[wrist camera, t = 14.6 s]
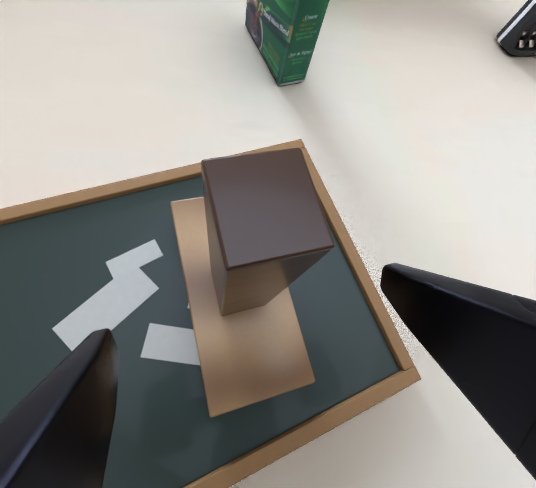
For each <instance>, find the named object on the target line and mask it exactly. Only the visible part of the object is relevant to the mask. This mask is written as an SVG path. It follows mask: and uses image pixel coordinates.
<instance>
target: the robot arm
mask: <svg viewBox="0 0 536 488" xmlns="http://www.w3.org/2000/svg"><path fill="white" fill-rule="evenodd" d="M380 286H381V290H382V292H383V293H384V295H385V296H386V297H387V299H388V300H389V302H390V303H391V305H392V306H393V308H394V309H395V311H396V312H397V313H398V315H399V316H400V318H401V319H402V321H403V322H404V323H405V325H406V326H407V327H408V329H409V330H410V331H411V332H412V333H413V335H414V336H415V337H416V338H417V339H418V341H419V342H420V343H421V344H422V345H423V346H424V348H425V349H426V350H427V351H428V352H429V354H430V355H431V356H432V357H433V358H434V360H435V361H436V362H437V363H438V364H439V366H440V367H441V368H442V369H443V370H444V371H445V373H446V374H447V375H448V376H449V377H450V379H451V380H452V381H453V382H454V383H455V385H456V386H457V387H458V388H459V389H460V390H461V392H462V393H463V394H464V395H465V396H466V398H467V399H468V400H469V401H470V402H471V404H472V405H473V406H474V407H475V408H476V410H477V411H478V412H479V413H480V414H481V415H482V417H483V418H484V419H485V420H486V421H487V423H488V424H489V425H490V426H491V427H492V429H493V430H494V431H495V432H496V433H497V435H498V436H499V437H500V438H501V439H502V440H503V442H504V443H505V444H506V445H507V446H508V448H509V449H510V450H511V451H512V452H513V454H515V455H516V457H517V459H518V460H519V461H520V462H521V463H522V465H523V466H524V467H525V468H526V469H527V471H528V472H529V473H530V474H531V475H532V476H533V478H534V479H535V480H536V301H535V300H531V299H528V298H524V297H520V296H517V295H512V294H509V293H505V292H502V291H498V290H494V289H490V288H487V287H483V286H479V285H476V284H472V283H468V282H464V281H461V280H457V279H453V278H450V277H446V276H442V275H438V274H435V273H431V272H427V271H424V270H420V269H416V268H412V267H409V266H405V265H401V264H398V263H392V264H387V265H385V266H384V267H383V270H382V276H381V283H380ZM118 372H119V350H118V347H117V344H116V342H115V339H114V337H113V334H112V332H111V330H110V329H108V328H105V329H101V330H96V331H93V332H92V333H90V334H89V335H88V336H87V337H86V338H85V339H84V340H83V341H82V342H81V343H80V344H79V345H78V346H77V347H76V348H75V349H74V350H73V351H72V352H71V353H70V354H69V355H68V356H67V357H66V358H65V359H64V360H63V361H62V362H61V363H60V364H58V365H57V366H56V367H55V368H54V369H53V370H52V371H51V372H50V373H49V374H48V375H47V376H46V377H45V378H44V379H43V380H42V381H41V382H40V383H39V384H38V385H37V386H36V387H35V388H34V389H33V390H32V391H31V392H30V393H29V394H28V395H27V396H26V397H25V398H24V399H23V400H21V401H20V402H19V403H18V404H17V405H16V406H15V407H14V408H13V409H12V410H11V411H10V412H9V413H8V414H7V415H6V416H5V417H4V418H3V419H2V420H1V421H0V488H102V486H103V481H104V475H105V469H106V464H107V458H108V453H109V447H110V442H111V436H112V430H113V425H114V419H115V413H116V404H117V389H118Z"/></svg>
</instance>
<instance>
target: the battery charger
mask: <svg viewBox="0 0 536 488" xmlns="http://www.w3.org/2000/svg"><path fill="white" fill-rule="evenodd" d="M497 39H498V40H497V41H498V42H499V43H500V44H501V45H502V46H503V48H504V49H505V50H506V51H507V52H508V53H510V54H511V55H515V56H530V55H536V0H528V1H527V2H526V3H525V4H524V5H523V7H522V8H521V9H520V10H519V11H518V12H517V13H516V14H515V15H514V17H513V18H512V19H511V20H510V21H509V22H508V23H507V24H506V25H505V26H504V28H503V29H502V30H501V31H500V32H499V33H498V34H497Z"/></svg>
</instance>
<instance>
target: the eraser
mask: <svg viewBox="0 0 536 488" xmlns="http://www.w3.org/2000/svg"><path fill="white" fill-rule="evenodd" d="M201 173H202V183H203V193H204V197H198V198H191V199H185V200H179V201H172V202H171V203H170V204H171V209H172V215H173V220H174V226H175V231H176V236H177V242H178V247H179V253H180V258H181V264H182V269H183V274H184V280H185V285H186V291H187V296H188V302H189V307H190V312H191V318H192V323H193V329H194V334H195V340H196V345H197V351H198V356H199V361H200V367H201V372H202V378H203V383H204V389H205V394H206V399H207V405H208V410H209V416H210V417H215V416H218V415H221V414H224V413H227V412H230V411H233V410H236V409H239V408H242V407H244V406H247V405H250V404H253V403H256V402H259V401H262V400H265V399H268V398H271V397H274V396H277V395H280V394H283V393H286V392H289V391H292V390H295V389H297V388H300V387H303V386H306V385H309V384H312V383H314V382H315V378H314V375H313V371H312V368H311V364H310V361H309V357H308V354H307V350H306V347H305V344H304V340H303V337H302V333H301V330H300V326H299V323H298V319H297V316H296V312H295V309H294V305H293V302H292V299H291V295H290V292H289V288H288V286H289V285H290V284H291V283H293V282H294V281H295V280H296V279H297V278H299V277H300V276H301V275H302V274H303V273H304V272H306V271H307V270H308V269H309V268H310V267H312V266H313V265H314V264H315V263H316V262H318V261H319V260H320V259H321V258H322V257H324V256H325V255H326V254H327V253H328V252H330V251H331V250H332V249H333V248H334V247H335V243H334V240H333V238H332V235H331V232H330V229H329V226H328V223H327V221H326V218H325V215H324V212H323V209H322V206H321V204H320V201H319V198H318V195H317V192H316V189H315V186H314V184H313V181H312V178H311V175H310V172H309V169H308V167H307V164H306V161H305V158H304V155H303V152H302V150H301V148H290V149H282V150H274V151H266V152H258V153H250V154H242V155H234V156H226V157H218V158H210V159H204V160H202V161H201Z"/></svg>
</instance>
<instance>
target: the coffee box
mask: <svg viewBox="0 0 536 488" xmlns="http://www.w3.org/2000/svg"><path fill="white" fill-rule="evenodd" d="M328 3H329V0H247V8H246V22H245V25H246V26H247V28H248V30H249V32H250V33H251V35H252V37H253V39H254V41H255V43H256V44H257V46H258V48H259V50H260V52H261V54H262V55H263V57H264V59H265V61H266V63H267V65H268V67H269V69H270V71H271V73H272V74H273V76H274V77H275V79H276V81H277V83H278V85H280V86H282V85H288V84H293V83H298V82H301V81H302V80H304V79H305V77H306V73H307V70H308V67H309V64H310V60H311V57H312V54H313V51H314V48H315V44H316V41H317V38H318V35H319V32H320V28H321V25H322V22H323V19H324V16H325V13H326V9H327V6H328Z"/></svg>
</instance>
